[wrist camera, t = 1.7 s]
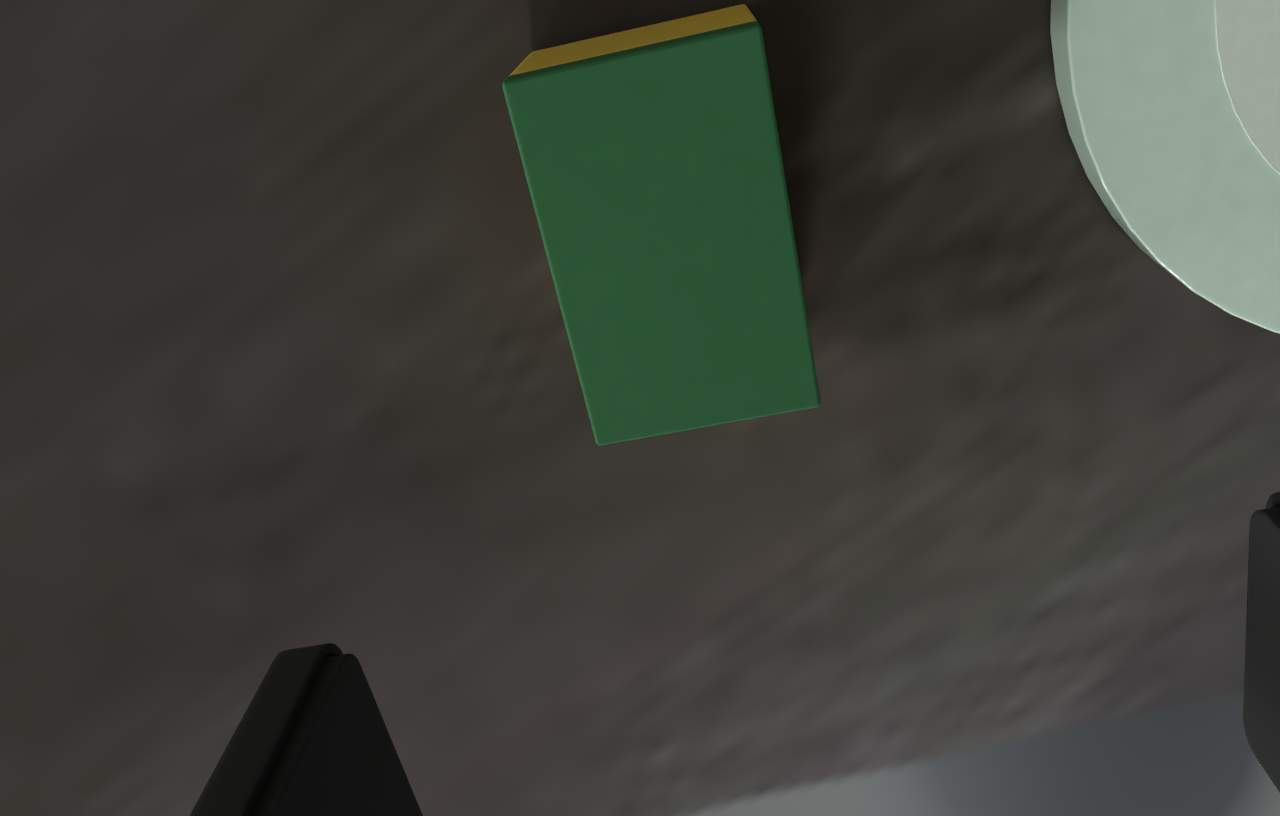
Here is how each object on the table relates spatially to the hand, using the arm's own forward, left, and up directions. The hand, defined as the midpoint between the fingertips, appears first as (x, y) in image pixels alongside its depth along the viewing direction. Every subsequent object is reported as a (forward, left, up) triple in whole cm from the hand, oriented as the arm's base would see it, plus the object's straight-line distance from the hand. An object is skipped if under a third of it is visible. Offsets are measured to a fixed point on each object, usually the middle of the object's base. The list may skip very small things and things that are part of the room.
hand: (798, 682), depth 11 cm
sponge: (-1, -1, -16) cm, 16 cm away
